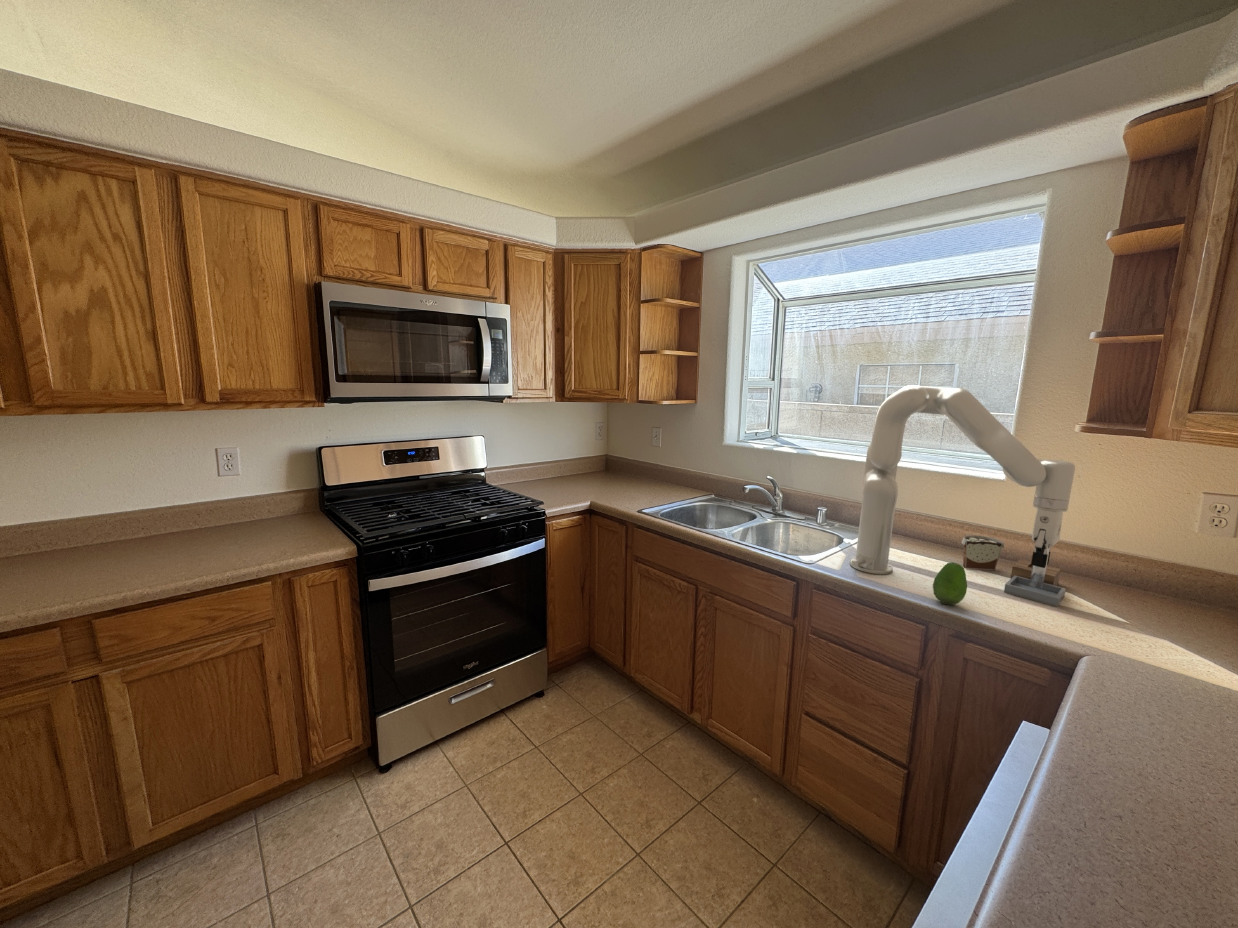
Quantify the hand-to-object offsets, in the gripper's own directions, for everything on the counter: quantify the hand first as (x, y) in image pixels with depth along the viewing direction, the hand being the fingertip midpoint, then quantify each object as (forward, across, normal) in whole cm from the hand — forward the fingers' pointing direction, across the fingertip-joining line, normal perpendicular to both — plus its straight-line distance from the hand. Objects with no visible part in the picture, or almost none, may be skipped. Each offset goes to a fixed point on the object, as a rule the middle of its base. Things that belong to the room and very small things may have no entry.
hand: (1039, 564), depth 144 cm
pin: (+7, 0, 0) cm, 7 cm away
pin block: (+9, +12, +2) cm, 15 cm away
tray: (+9, 0, 0) cm, 9 cm away
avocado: (+9, -28, +14) cm, 33 cm away
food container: (+10, +13, +18) cm, 24 cm away
